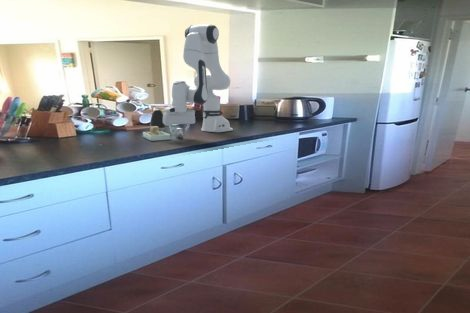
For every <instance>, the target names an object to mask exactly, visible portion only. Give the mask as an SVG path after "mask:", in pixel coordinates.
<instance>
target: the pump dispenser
mask: <svg viewBox="0 0 470 313" xmlns="http://www.w3.org/2000/svg"><path fill="white" fill-rule="evenodd" d="M163 114H164V112H162V110H161V109H159V108H157V109H154V111H153V112H152V113H151V117H150V120H149V121H150V122H149V128H150V127H151V126H157V127H159V131H163V132H165V130H166V128H167V125H165V124H163Z"/></svg>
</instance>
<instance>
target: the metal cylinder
mask: <svg viewBox="0 0 470 313" xmlns="http://www.w3.org/2000/svg"><path fill="white" fill-rule="evenodd" d="M175 131H176V134H175V135H176V136H175V138H176V139H179V140H180V139H184V128H182V127H176V128H175Z"/></svg>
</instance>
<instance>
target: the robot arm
mask: <svg viewBox="0 0 470 313" xmlns="http://www.w3.org/2000/svg"><path fill="white" fill-rule="evenodd" d="M219 32H220V31H219V29H218V27H217V26H216V25H214V24H203V23H202V24H195V25H193V24H191V25H188V26H187V27H186V28H185V30H184V37H185V39H184V40H185V41H184V46H183V55H182V58H183V61H184V63H185V64H186V66H189V67H190V68H192V69H194V71H195V73H196V75H195V76H194V80H193V83H194V85H195V86H194V87H192V86H190V85H188V84H187V83H186V81H183V80H179V81H174V82H173V84H172V85H171V86H172V87H171V97H172V98H171V99H172V101H171V105H170V106H167V107H164V108H163V111H164V112H163V124H165V125H166V126H168V128H169V131H170V133H174V132H175V129H174V128H173V125H174V126H175V125H186V127H185V128H184V132H189V128H190V126H191V125H193V124H195V123H196V115H195V114H196V110H195V109H193V108H187V107H188V103H189V104H197V105H200V106H201V105H203V110H202V118H203V120H202V126H201V129H200V130H201V131H203V132H210V133H211V132H212V133H222V132H231V131H234V129H233V127H231V125H230V121H229V120H228V119H227V118H225V117H224V114H225V111H224V110H220V108H221V106H220V105H221V100H220V97H219V96H217V95H216V94H215V93H214V91H223V90H227V89H228V88H229V87H230V86H231V79H230V76H229V75H228V74H227V73H226V72H225V71H224V70H223V69H222V67H221V63H220V58H219V56H220V55H219V46H218V42H217V40H218V39H219V34H220V33H219ZM207 70H208V71H209V72H207Z"/></svg>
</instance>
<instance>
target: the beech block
mask: <svg viewBox="0 0 470 313" xmlns="http://www.w3.org/2000/svg"><path fill="white" fill-rule="evenodd" d="M149 132H150V135H151V136H155V135H159V127H157V126H151V127H150V126H149Z"/></svg>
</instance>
